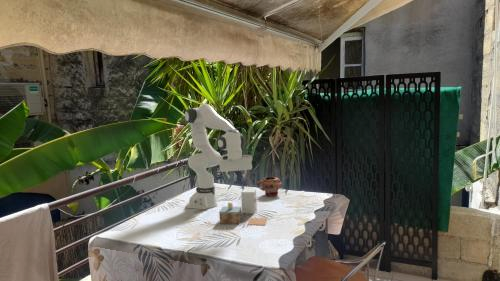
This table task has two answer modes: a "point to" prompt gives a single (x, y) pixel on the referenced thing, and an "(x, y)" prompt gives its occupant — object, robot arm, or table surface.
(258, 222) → the coaster
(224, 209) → the lid
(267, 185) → the decorative planter
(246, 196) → the supplement box
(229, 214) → the walnut box
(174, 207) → the table surface
